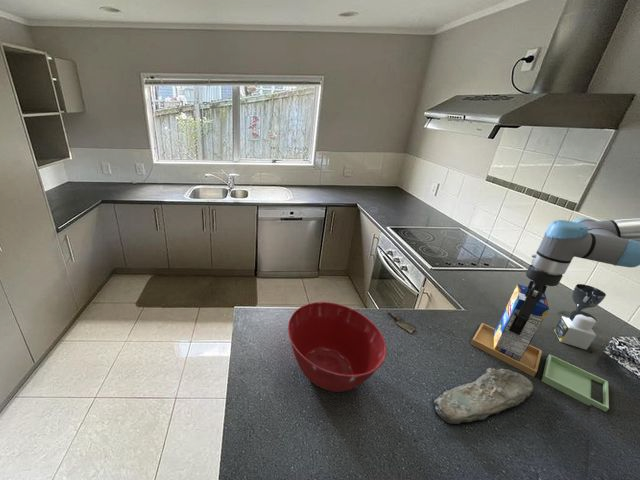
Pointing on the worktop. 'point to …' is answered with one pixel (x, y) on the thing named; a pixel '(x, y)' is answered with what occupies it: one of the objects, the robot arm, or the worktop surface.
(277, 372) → the worktop surface
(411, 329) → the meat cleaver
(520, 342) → the beverage box
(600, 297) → the wine glass
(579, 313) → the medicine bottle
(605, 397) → the green tray
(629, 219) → the robot arm
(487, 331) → the oak tray
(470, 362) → the worktop surface
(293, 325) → the mixing bowl
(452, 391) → the long grey stone
